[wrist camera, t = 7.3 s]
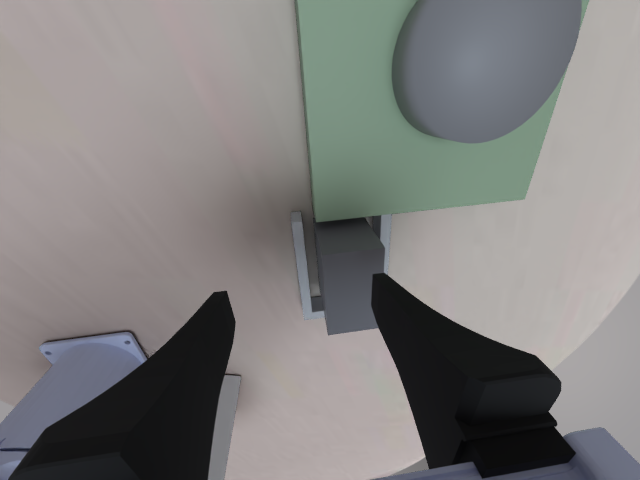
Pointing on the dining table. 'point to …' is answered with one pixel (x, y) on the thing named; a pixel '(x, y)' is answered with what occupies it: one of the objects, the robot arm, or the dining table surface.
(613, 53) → the dining table surface
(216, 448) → the milk carton
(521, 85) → the green panel
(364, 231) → the dark gray block
